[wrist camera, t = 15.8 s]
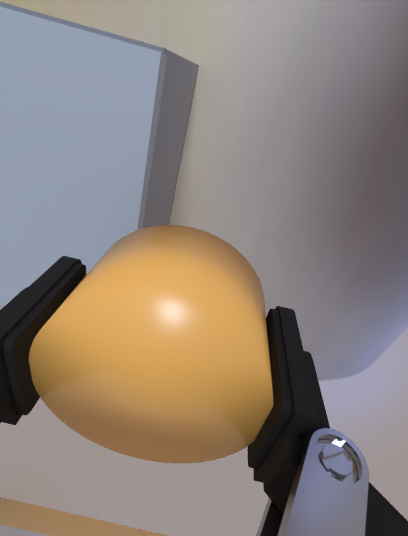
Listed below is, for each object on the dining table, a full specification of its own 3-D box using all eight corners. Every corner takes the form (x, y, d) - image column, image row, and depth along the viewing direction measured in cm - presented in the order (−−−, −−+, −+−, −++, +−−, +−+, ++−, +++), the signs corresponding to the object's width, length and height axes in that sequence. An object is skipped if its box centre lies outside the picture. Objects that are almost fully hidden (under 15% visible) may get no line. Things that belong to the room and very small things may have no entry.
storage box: (198, 65, 20) (163, 48, 11) (164, 246, 27) (127, 318, 19) (-40, -2, 19) (-262, -73, 11) (-9, 200, 27) (-127, 252, 18)
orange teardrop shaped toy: (290, 251, 10) (316, 341, 6) (237, 377, 13) (234, 481, 10) (96, 203, 10) (14, 268, 6) (93, 343, 13) (39, 434, 9)
